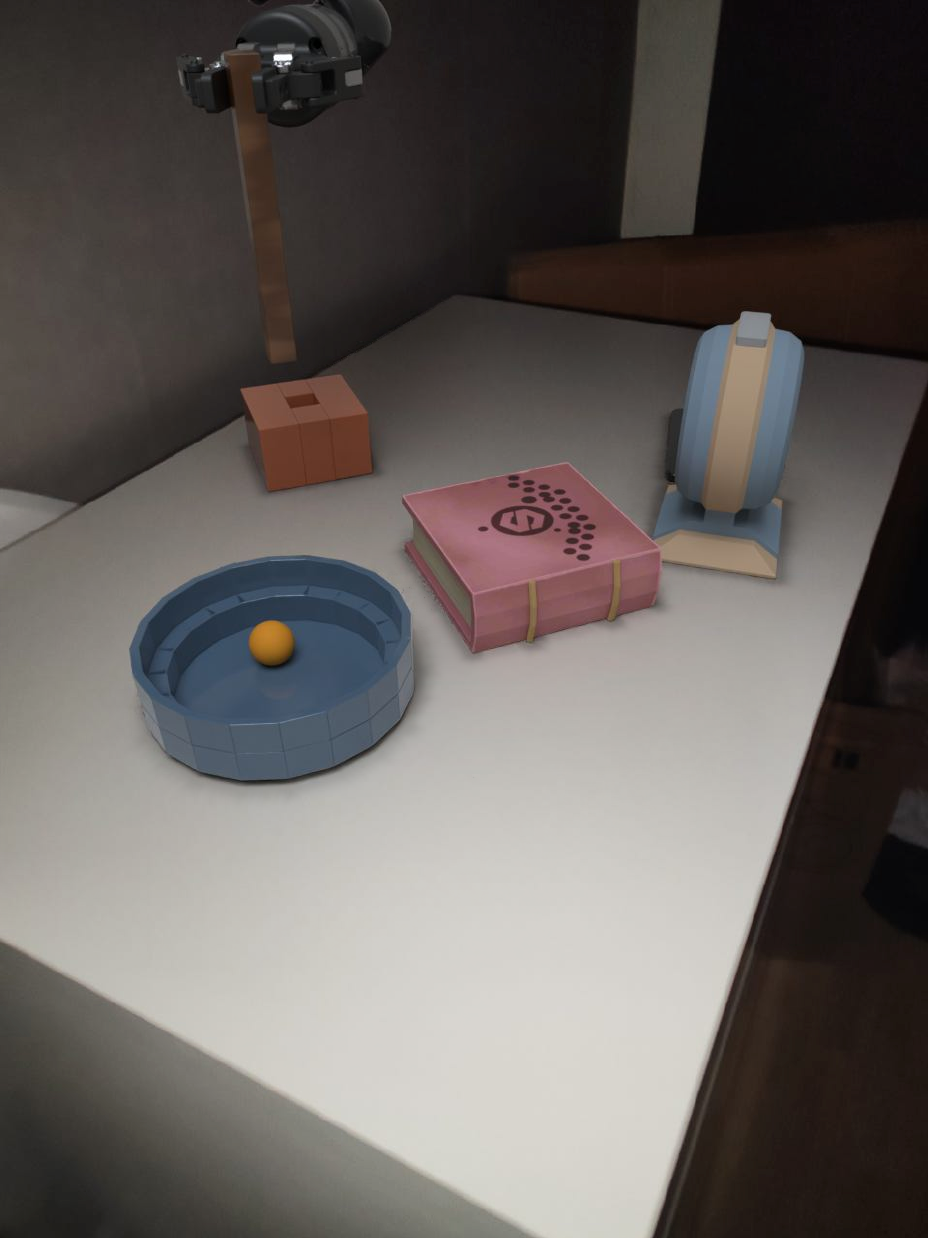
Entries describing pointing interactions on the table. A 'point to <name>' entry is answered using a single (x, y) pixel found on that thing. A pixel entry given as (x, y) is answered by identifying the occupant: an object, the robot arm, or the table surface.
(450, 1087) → the table surface
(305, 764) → the bowl
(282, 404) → the holder
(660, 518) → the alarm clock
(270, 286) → the stick
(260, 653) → the ball
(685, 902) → the table surface
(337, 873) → the table surface
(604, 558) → the book
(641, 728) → the table surface
